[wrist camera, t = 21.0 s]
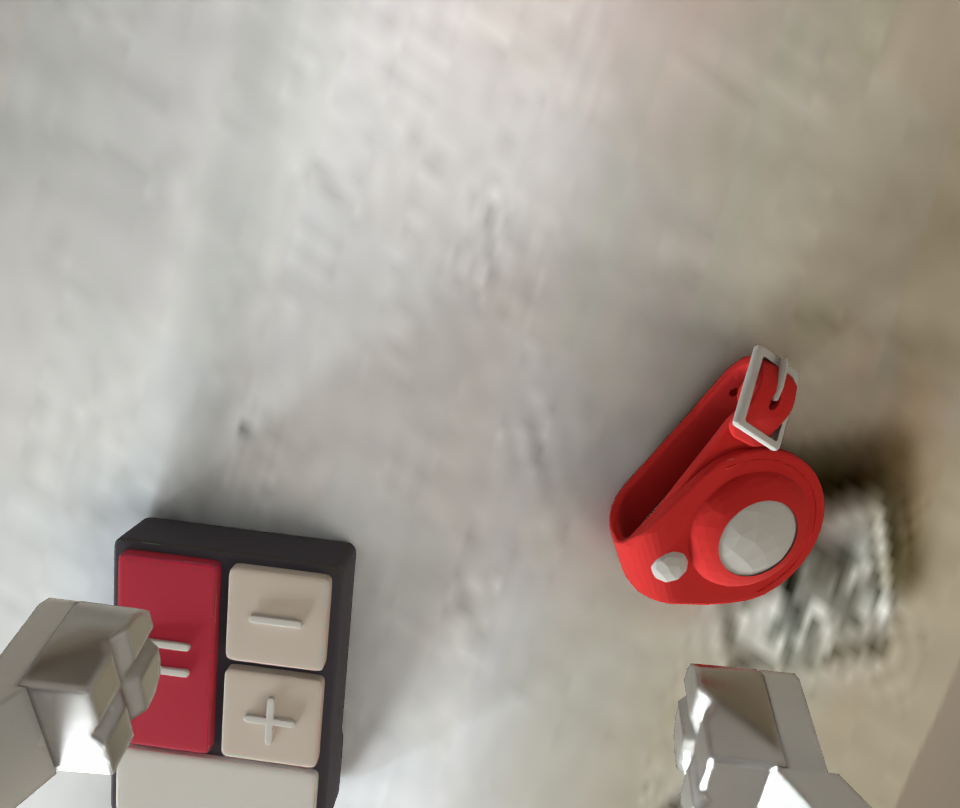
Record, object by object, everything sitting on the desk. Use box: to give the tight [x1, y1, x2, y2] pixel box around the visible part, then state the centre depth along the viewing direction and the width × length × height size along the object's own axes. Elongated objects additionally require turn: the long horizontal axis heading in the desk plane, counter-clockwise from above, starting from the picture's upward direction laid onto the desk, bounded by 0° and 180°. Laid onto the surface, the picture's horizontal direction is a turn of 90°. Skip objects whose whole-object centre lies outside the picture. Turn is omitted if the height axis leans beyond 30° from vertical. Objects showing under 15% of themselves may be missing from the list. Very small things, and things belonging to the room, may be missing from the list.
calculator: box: [111, 518, 356, 808], centre depth 41 cm, size 11×4×15 cm
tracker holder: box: [609, 344, 824, 605], centre depth 37 cm, size 12×4×10 cm
